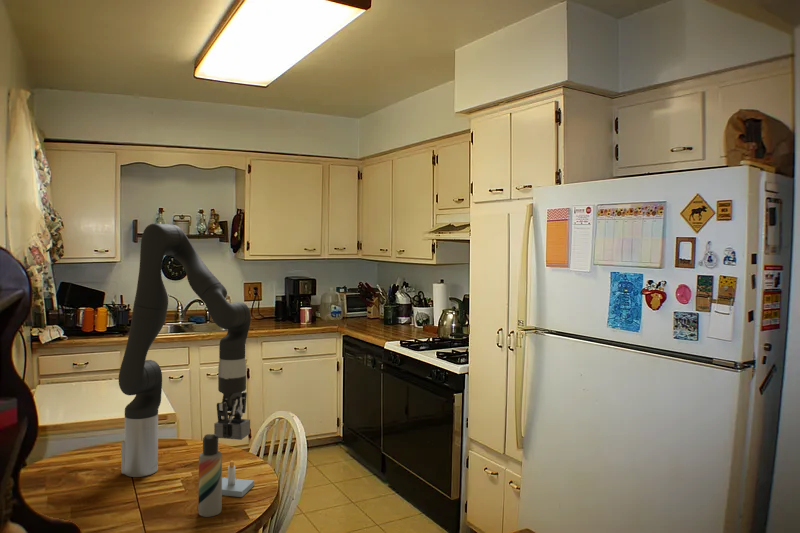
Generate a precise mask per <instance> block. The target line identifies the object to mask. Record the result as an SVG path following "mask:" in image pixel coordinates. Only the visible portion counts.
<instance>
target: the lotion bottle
mask: <svg viewBox="0 0 800 533" xmlns="http://www.w3.org/2000/svg"><path fill="white" fill-rule="evenodd" d="M222 477H223V454H222V452H221V451H219V438H218V436H217V435H215V434H214V433H213V434H212V433H211V434H210V433H209V434H205V435H204V436H203V438H202V452H201V453H199V455H198V502H197V504H198V506H197V507H198V508H197V509H198V510H197V511H198V515H199V516H201V517H205V518H209V517H214V516H217V515H219V514H221V512H222V502H223V501H222V500H223V495H222Z"/></svg>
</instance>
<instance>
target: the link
mask: <svg viewBox="0 0 800 533" xmlns="http://www.w3.org/2000/svg"><path fill="white" fill-rule="evenodd" d="M228 419H229V417H228ZM213 424H214V425H213V426H214V427H213V429H214V430H213V432H214V433H213V434H215V435H217V436H218V439H225V440H227V439H228V440H238V441H240V440H241V441H242V440H243V439H245V438H246V437H248V436H249V435H250V434H251V419H248V418H241V419H234V418H233V417H232V421H231V437H230V438H224V437H223V424H219V423H218V421H216V422H215V423H213Z"/></svg>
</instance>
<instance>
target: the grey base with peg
mask: <svg viewBox="0 0 800 533" xmlns="http://www.w3.org/2000/svg"><path fill="white" fill-rule="evenodd" d="M254 486H255V480H254V479H242V478H236V465H235V461H234V460H230V461H229V465H228V466H227V477H225V476H224V477H223V476H222V496H227V497H229V496H230V497H237V498H243V497H244V496H245V495H246V494H247V493H248V492H249V491H250V490H251V489H252V488H253V487H254Z"/></svg>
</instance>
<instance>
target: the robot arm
mask: <svg viewBox="0 0 800 533" xmlns="http://www.w3.org/2000/svg"><path fill="white" fill-rule="evenodd" d="M165 256H172V257H173V258H174V259H175V260H177V261H178V262H179V263H180V264H181V265H182V267H183V269H184V271H185V274H186V278H187V282H188V284H189V287H190V288H191V289H192V291H193V292H194V293H195V294H196V296H198V298H199V299H200V300H201V301H202V302H203V303H204V305H205V307H206V309H207V311H208V313H209V316H210V318H211V319H212V321H213V323H215V325H217V327H219V328H220V329H222V330H227V333H226V335H225V336H223V337H222V338H221V339H220V340H219V346H218V347H219V348H218V349H219V350H218V352H219V356H218V357H219V359H218V367H217V368H218V370H217V372H218V377H217V378H218V379H217V380H218V381H217V382H218V383H217V385H218V387H217V389H218V392H219V393H221V394H223V395H222V400H221V402H217V403H216V414H217V422H218V423H219V424H223V437H224V438H230V437H231V421H232V418H234V419H242V418H243V416H244V415H243V414H245V413H246V409H247V408H246V407H247V398H248V397H247V395H248V392H246V389H247V361H246V342H247V338H248V334H249V331H250V330H249V329H250V326H251V320H252V318H251V311H250V307H248V305H247V304H246V303H244V302H242V301H235V302H229V301H227V300H226V298H227V296H228V291H227V289H226V287H225V286H224V284H222V282H221V281H219V279H218V278H217V277H216V276H215V275H214V273H212V271H210V269H209V268H208V267H207V266H206V264H205V263H204V261H203V260H202V258H201V257H200V254H198V252H197V250H196V249H195V247H194V245H193V244H192V243H191V241H190V239H189V238H188V236H187V234H186V233H185V232H184V230H183V229H182V228H181V227H179V225H176V224H172V223H158V222H157V223H150V224H149V225H147V226H146V227H145V228H144V230H143V232H142V234H141V239H140V253H139V269H138V278H137V283H136V285H137V286H136V290H135V296H134V301H133V308H132V313H131V322H130V327H129V333H128V336H127V342H126V347H125V350H124V354H123V357H122V361H121V364H120V367H119V373H118V386H119V389H120V390H121V392H122V393H123V394H124V395H126V396H135V397H134V398H133V399H132V400H131V401H130V402H129V403H128V404H127V405H126V406H125V408H124V440H122V442H121V445H120V446H121V449H120V452H121V454H120V455H121V459H120V460H121V461H120V462H121V464H120V465H121V468H120V469H121V474H122V475H125V476H127V477H133V478H140V477H146V476H150V475H152V474H154V473H155V474H156V472H158V469H159V466H158V465H159V461H158V460H159V408H160V405H161V403H162V402H161V401H162V392H163V390H162V387H163V372H162V368H161V366H160V365H159V363H158V362H157V361H155V360H152V359H147V355H148V351H149V350H150V347H151V346H152V344H153V343H154V341H155V339H156V338H157V337H158V335H159V334H160V332H161V330H162V329H163V327H164V324H165V322H166V320H167V314H168V309H169V308H168V306H169V296H168V292H167V289H166V286H165V284H164V280H163V277H162V268H163V262H164V261H163V260H164V257H165ZM228 418H229V419H228ZM224 438H223V439H224Z"/></svg>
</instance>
